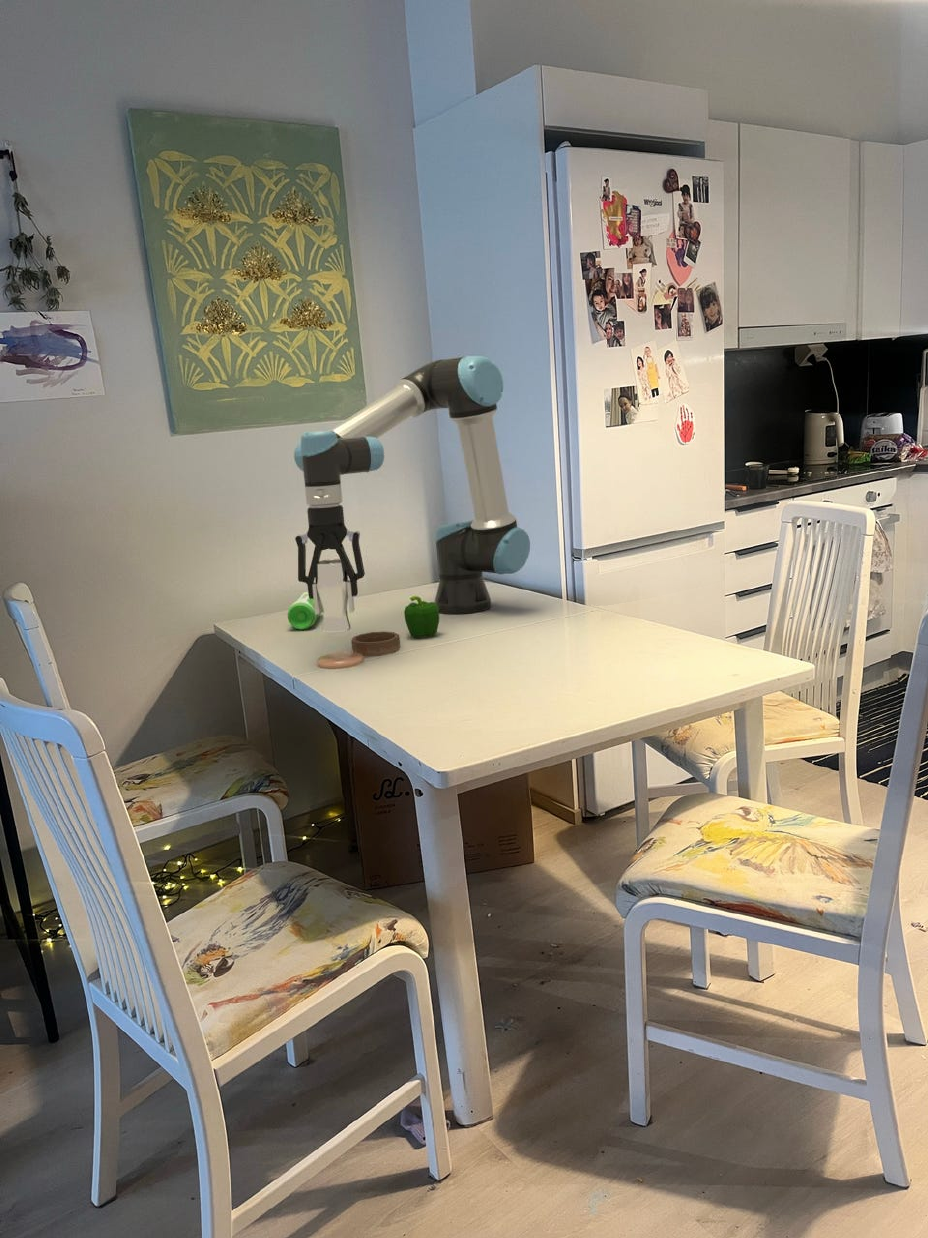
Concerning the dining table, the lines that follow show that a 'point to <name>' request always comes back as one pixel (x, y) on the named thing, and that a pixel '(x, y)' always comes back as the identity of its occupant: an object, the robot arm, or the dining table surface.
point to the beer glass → (333, 595)
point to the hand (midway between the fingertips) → (334, 611)
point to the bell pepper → (422, 618)
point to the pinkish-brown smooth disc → (340, 660)
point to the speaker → (303, 612)
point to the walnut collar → (376, 643)
